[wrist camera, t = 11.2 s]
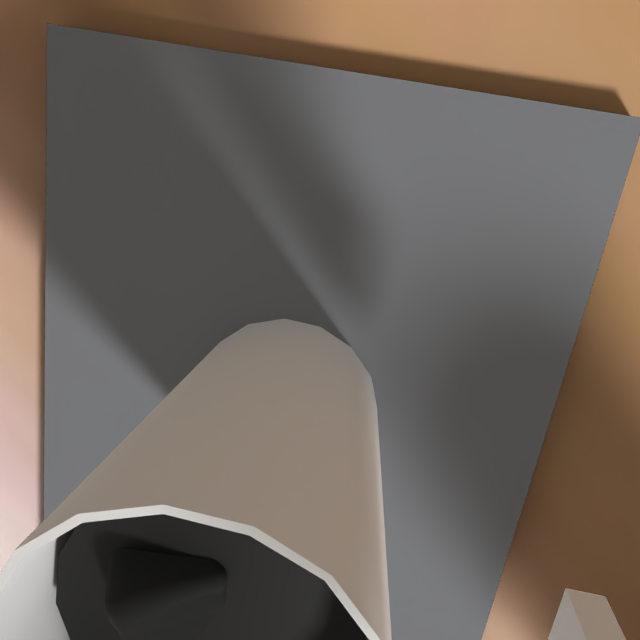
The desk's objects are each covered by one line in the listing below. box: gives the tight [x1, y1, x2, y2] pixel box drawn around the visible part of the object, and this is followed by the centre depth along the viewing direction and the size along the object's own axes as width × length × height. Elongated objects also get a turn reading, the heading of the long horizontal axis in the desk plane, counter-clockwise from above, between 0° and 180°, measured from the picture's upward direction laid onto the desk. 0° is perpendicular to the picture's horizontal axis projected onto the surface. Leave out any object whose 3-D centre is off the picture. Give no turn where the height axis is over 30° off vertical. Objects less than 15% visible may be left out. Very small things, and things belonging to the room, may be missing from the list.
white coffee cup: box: [0, 319, 392, 640], centre depth 14 cm, size 7×7×10 cm
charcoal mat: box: [44, 23, 640, 640], centre depth 19 cm, size 20×16×1 cm
